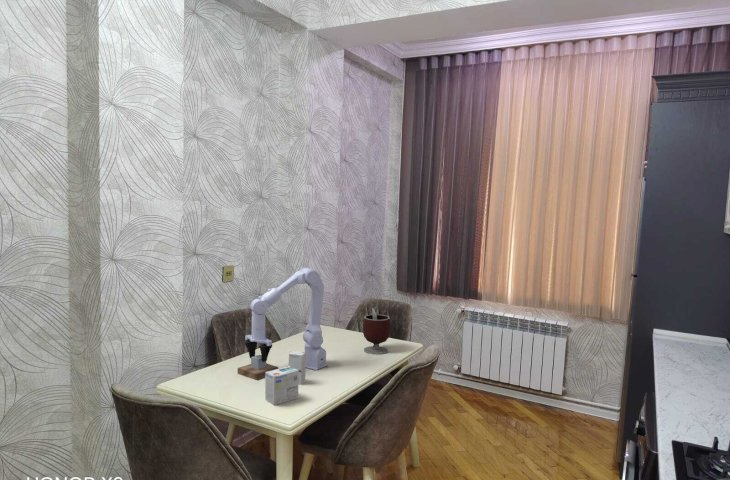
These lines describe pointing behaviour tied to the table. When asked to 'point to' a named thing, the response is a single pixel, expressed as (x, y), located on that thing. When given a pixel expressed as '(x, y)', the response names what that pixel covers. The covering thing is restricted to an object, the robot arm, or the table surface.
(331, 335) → the table surface
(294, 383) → the light bulb box
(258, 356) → the slate cube
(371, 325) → the mate gourd
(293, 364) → the skincare box
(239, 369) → the walnut base
